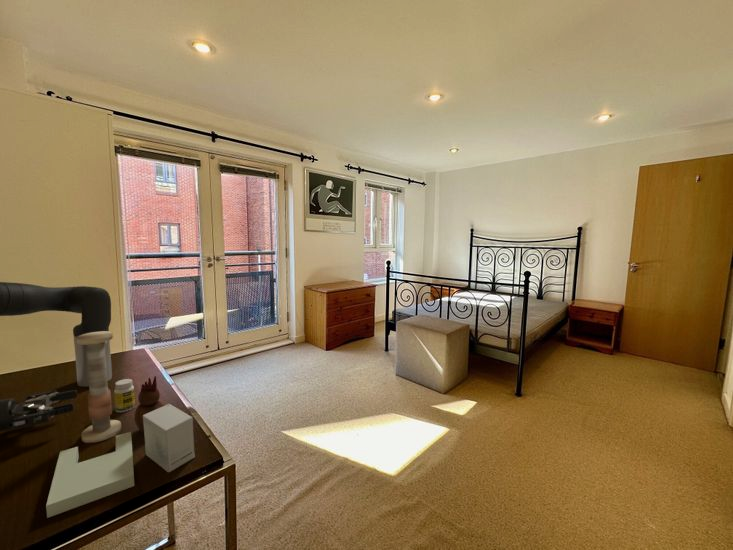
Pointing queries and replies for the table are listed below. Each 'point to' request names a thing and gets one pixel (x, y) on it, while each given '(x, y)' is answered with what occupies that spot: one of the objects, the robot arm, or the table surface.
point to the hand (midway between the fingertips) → (75, 399)
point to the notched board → (90, 476)
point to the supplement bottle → (124, 395)
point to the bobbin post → (98, 389)
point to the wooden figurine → (147, 402)
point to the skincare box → (169, 437)
